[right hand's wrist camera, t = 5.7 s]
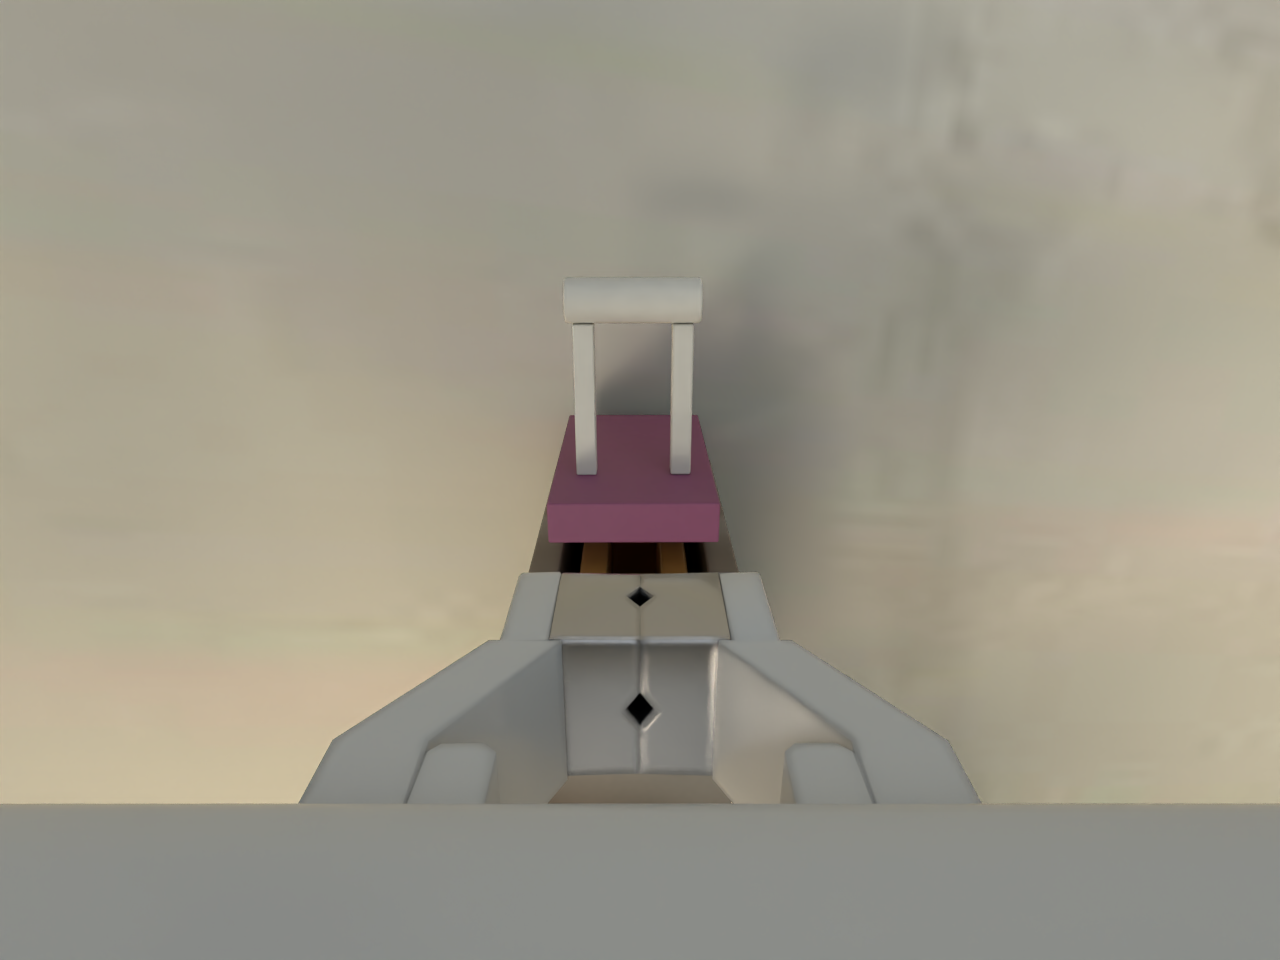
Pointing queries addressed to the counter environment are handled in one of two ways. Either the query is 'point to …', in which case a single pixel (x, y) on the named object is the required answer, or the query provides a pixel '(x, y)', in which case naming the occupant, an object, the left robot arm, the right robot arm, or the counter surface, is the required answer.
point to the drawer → (633, 441)
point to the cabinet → (638, 785)
